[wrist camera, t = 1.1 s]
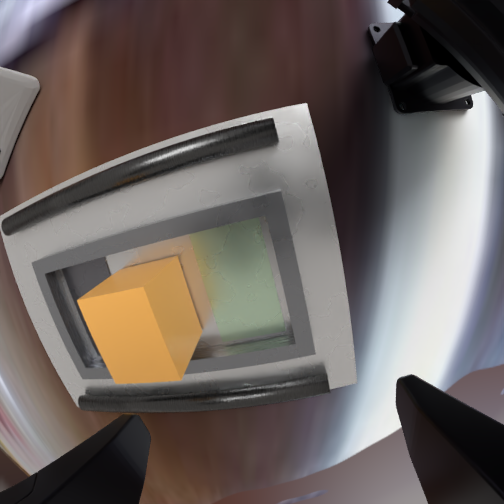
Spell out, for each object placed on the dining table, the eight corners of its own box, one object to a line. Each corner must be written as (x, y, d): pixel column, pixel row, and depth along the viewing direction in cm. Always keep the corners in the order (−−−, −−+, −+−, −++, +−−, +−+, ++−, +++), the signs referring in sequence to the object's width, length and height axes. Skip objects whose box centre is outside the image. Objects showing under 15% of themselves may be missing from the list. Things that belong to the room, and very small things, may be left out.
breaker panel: (303, 110, 17) (309, 96, 13) (351, 366, 21) (361, 396, 18) (13, 213, 20) (-16, 221, 17) (87, 394, 24) (70, 416, 21)
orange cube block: (177, 255, 17) (143, 286, 13) (202, 331, 19) (181, 380, 14) (120, 269, 18) (76, 300, 13) (147, 339, 19) (115, 384, 14)
